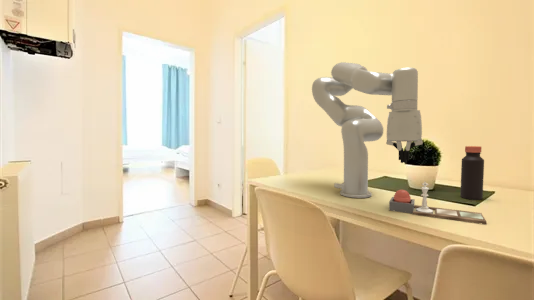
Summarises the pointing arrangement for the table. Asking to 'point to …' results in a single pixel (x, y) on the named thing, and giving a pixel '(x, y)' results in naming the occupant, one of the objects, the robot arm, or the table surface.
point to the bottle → (472, 174)
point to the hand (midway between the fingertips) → (403, 162)
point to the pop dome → (402, 196)
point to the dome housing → (401, 206)
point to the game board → (453, 215)
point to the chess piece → (424, 201)
